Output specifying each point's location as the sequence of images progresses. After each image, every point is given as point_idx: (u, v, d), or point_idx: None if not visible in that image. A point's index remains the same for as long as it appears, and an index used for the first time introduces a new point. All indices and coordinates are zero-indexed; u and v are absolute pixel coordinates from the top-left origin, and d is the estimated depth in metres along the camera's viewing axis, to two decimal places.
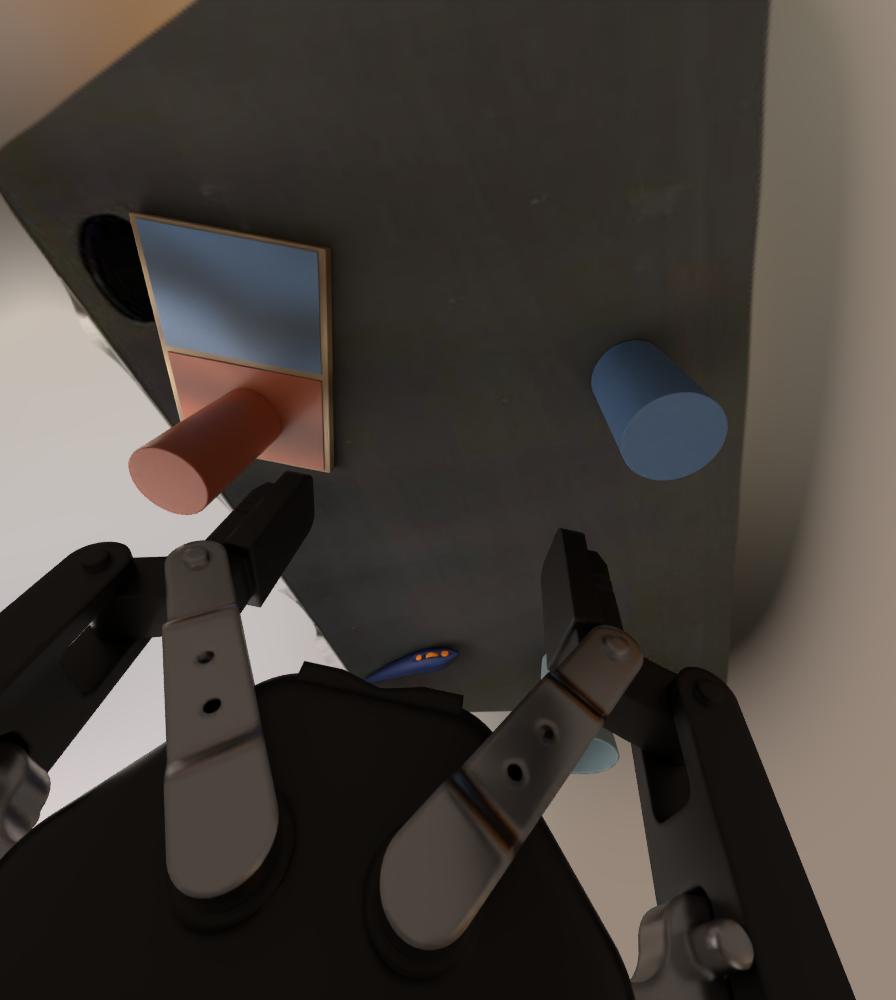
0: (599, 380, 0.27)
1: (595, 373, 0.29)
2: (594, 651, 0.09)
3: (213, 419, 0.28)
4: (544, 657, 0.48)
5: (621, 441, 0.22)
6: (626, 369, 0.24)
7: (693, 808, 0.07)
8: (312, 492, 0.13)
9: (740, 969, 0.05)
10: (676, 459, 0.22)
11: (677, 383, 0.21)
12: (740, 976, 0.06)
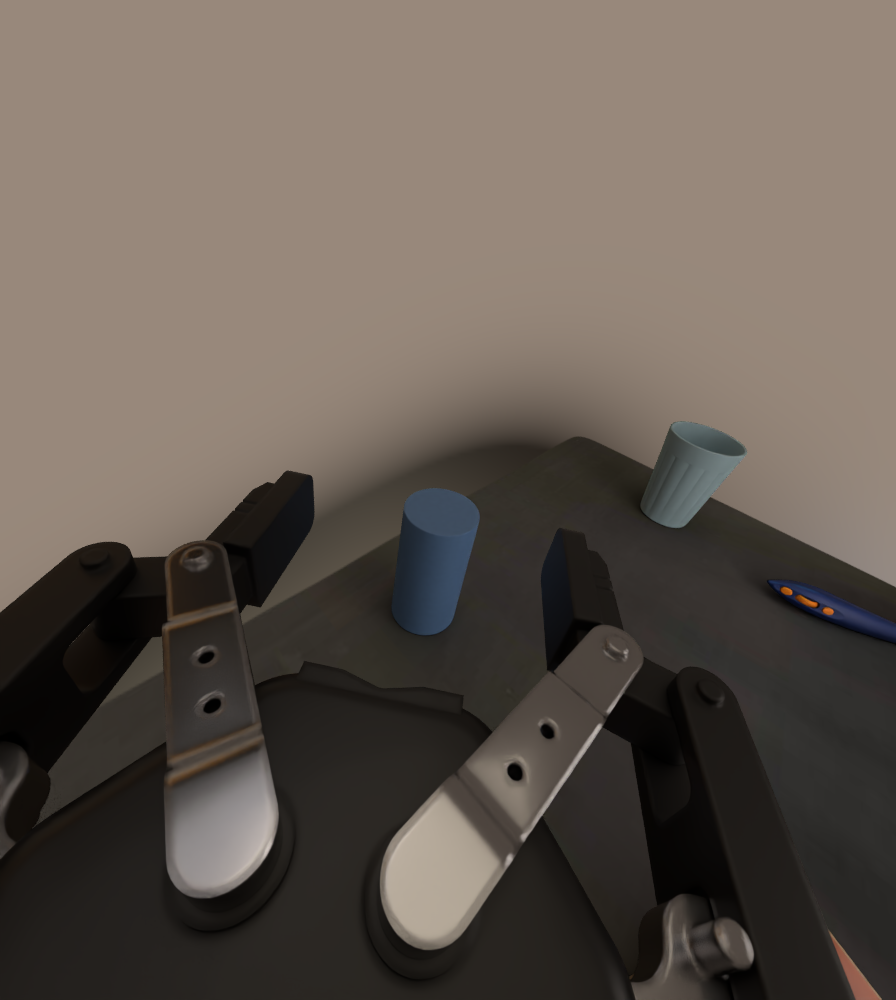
0: (438, 614, 0.30)
1: (435, 627, 0.30)
2: (594, 651, 0.09)
3: None
4: (678, 525, 0.48)
5: (466, 533, 0.26)
6: (418, 589, 0.28)
7: (693, 808, 0.07)
8: (312, 492, 0.13)
9: (740, 969, 0.05)
10: (452, 502, 0.28)
11: (407, 534, 0.26)
12: (740, 977, 0.06)
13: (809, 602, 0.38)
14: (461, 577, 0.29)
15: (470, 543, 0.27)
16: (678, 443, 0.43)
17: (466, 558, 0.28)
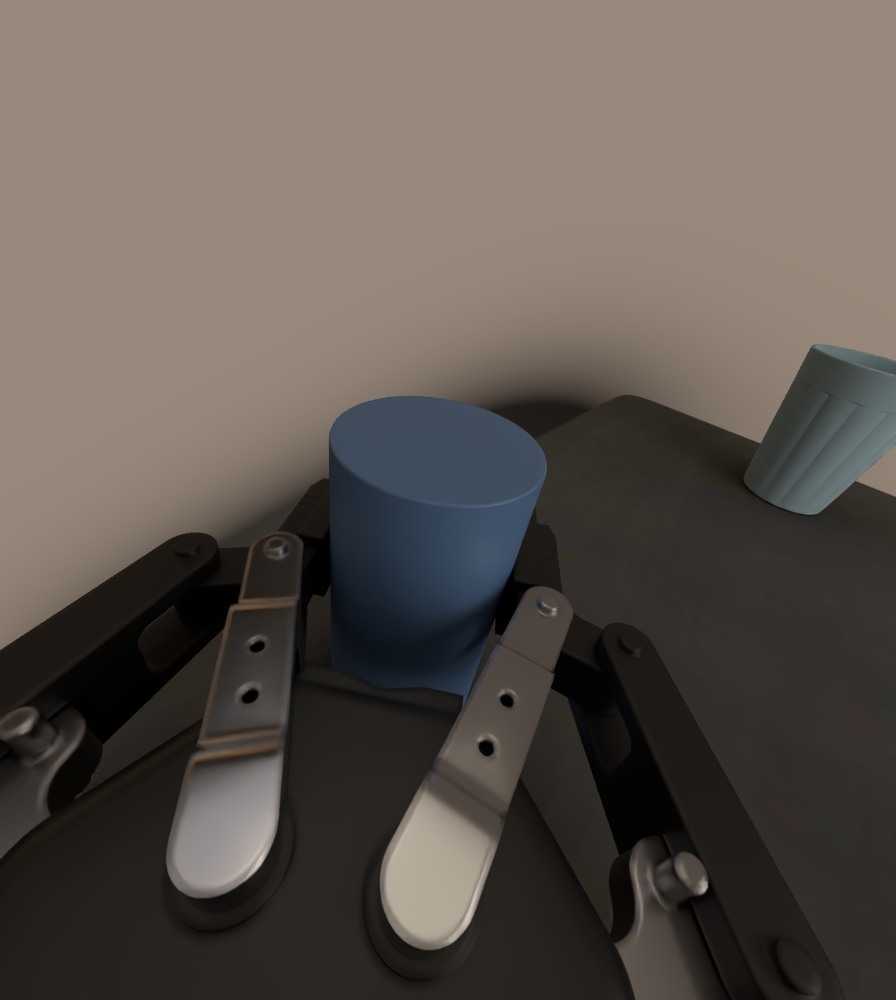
0: None
1: None
2: (530, 613, 0.09)
3: None
4: (815, 510, 0.30)
5: (516, 501, 0.08)
6: (379, 656, 0.11)
7: (635, 756, 0.08)
8: None
9: (699, 894, 0.06)
10: (470, 424, 0.10)
11: (337, 506, 0.09)
12: (700, 898, 0.06)
13: None
14: (490, 621, 0.11)
15: (522, 533, 0.09)
16: (838, 370, 0.26)
17: (507, 574, 0.10)
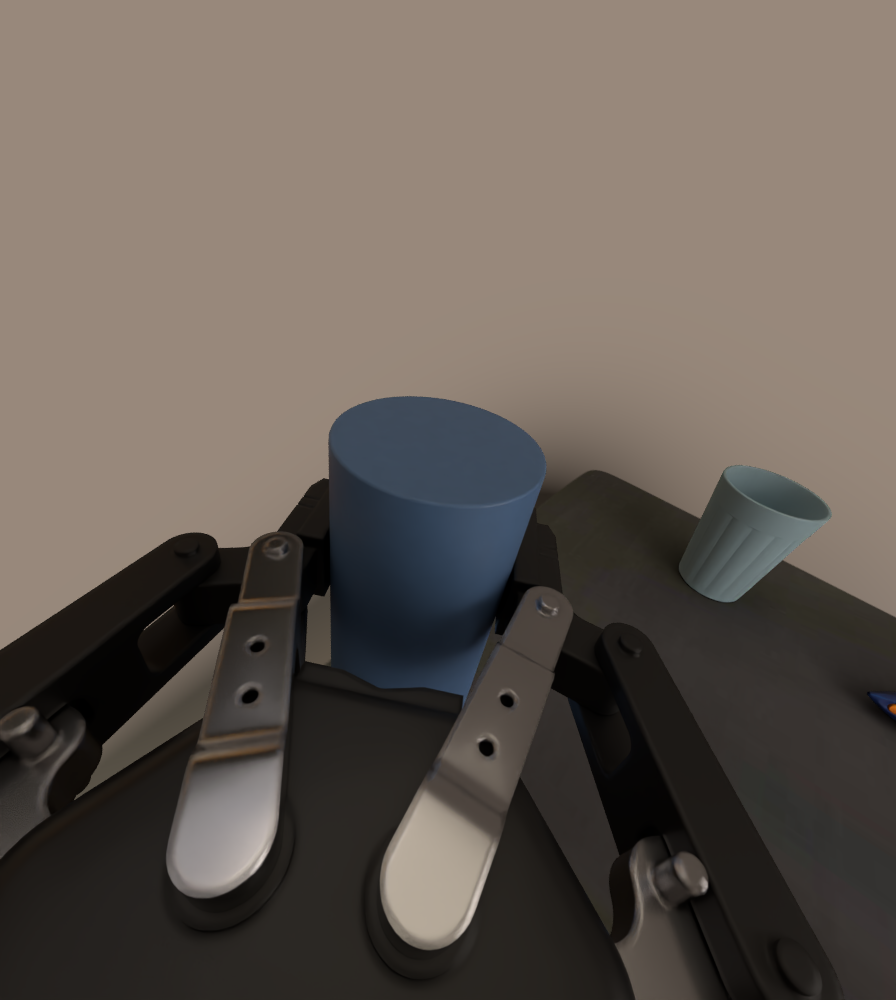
0: None
1: None
2: (531, 613, 0.09)
3: None
4: (732, 599, 0.37)
5: (515, 501, 0.08)
6: (378, 656, 0.11)
7: (635, 756, 0.08)
8: None
9: (699, 894, 0.06)
10: (469, 424, 0.10)
11: (337, 506, 0.09)
12: (700, 899, 0.06)
13: None
14: (490, 621, 0.11)
15: (521, 533, 0.09)
16: (738, 500, 0.32)
17: (507, 574, 0.10)
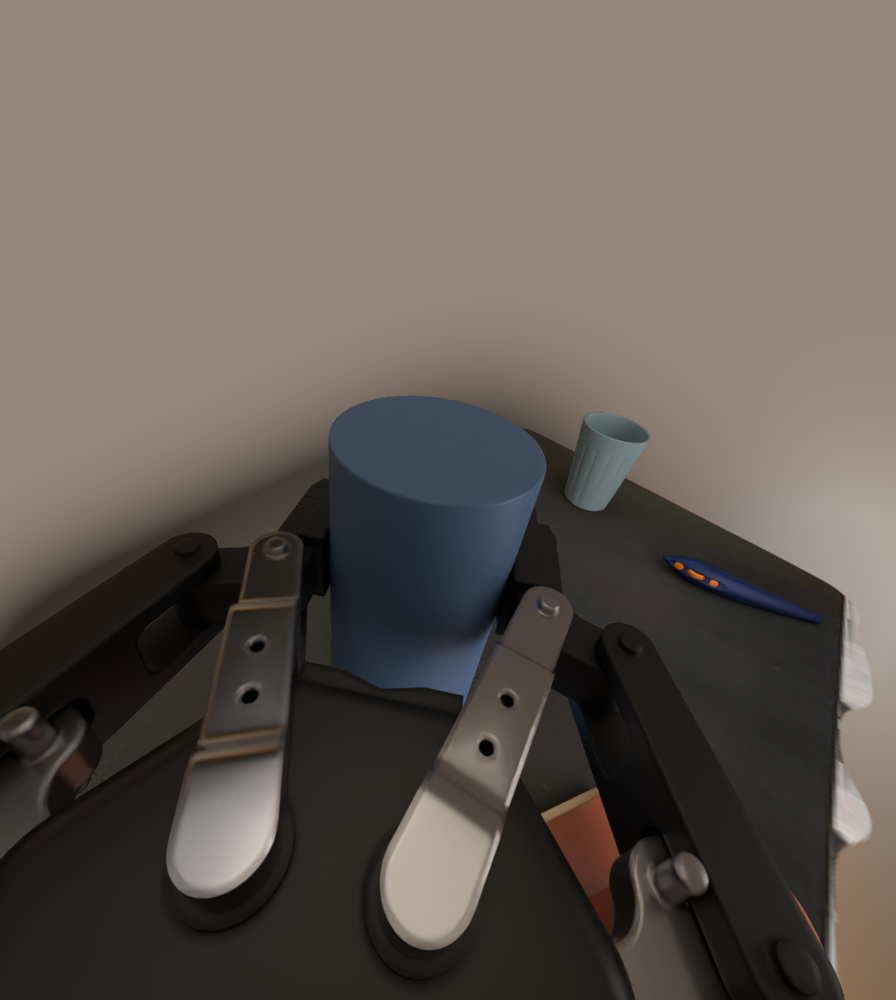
0: None
1: None
2: (531, 613, 0.09)
3: None
4: (596, 508, 0.51)
5: (515, 500, 0.08)
6: (378, 656, 0.11)
7: (635, 756, 0.08)
8: None
9: (699, 894, 0.06)
10: (469, 424, 0.10)
11: (337, 505, 0.09)
12: (699, 898, 0.06)
13: (697, 575, 0.42)
14: (490, 621, 0.11)
15: (521, 532, 0.09)
16: (588, 431, 0.47)
17: (506, 574, 0.10)
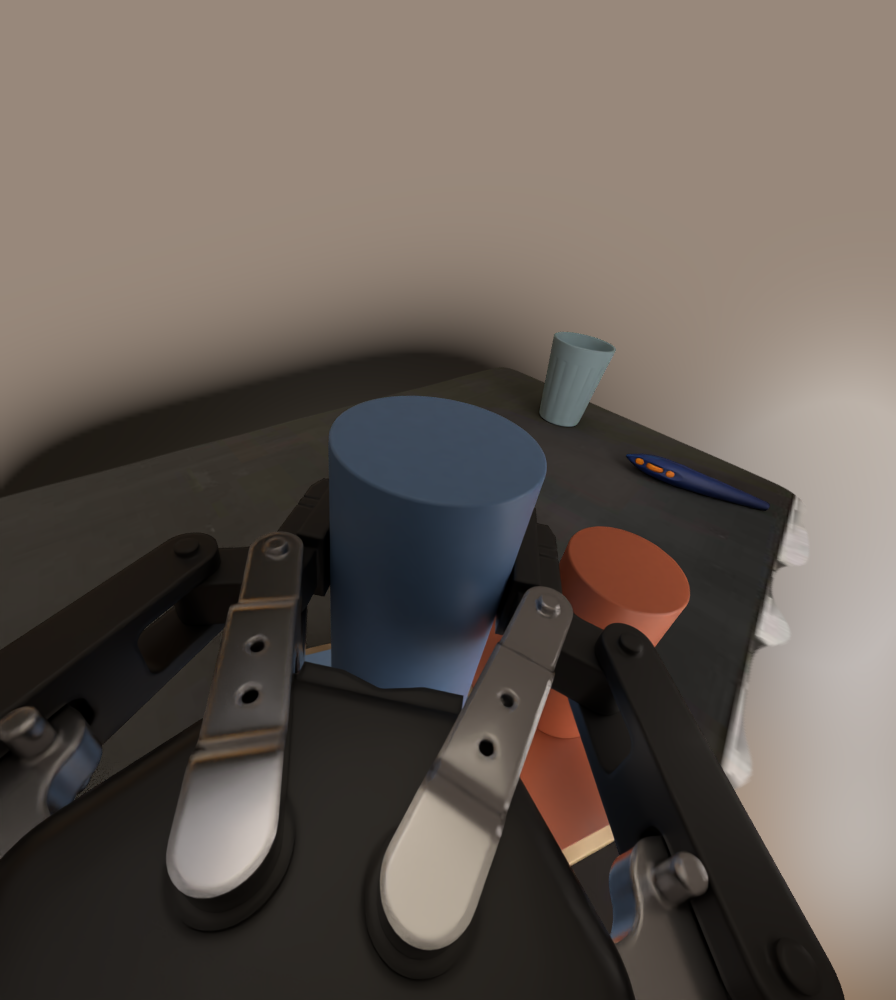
0: None
1: None
2: (531, 613, 0.09)
3: None
4: (568, 423, 0.55)
5: (515, 501, 0.08)
6: (379, 656, 0.11)
7: (635, 756, 0.08)
8: None
9: (699, 894, 0.06)
10: (469, 424, 0.10)
11: (337, 506, 0.09)
12: (700, 898, 0.06)
13: (655, 468, 0.46)
14: (490, 621, 0.11)
15: (521, 532, 0.09)
16: (557, 344, 0.50)
17: (507, 574, 0.10)
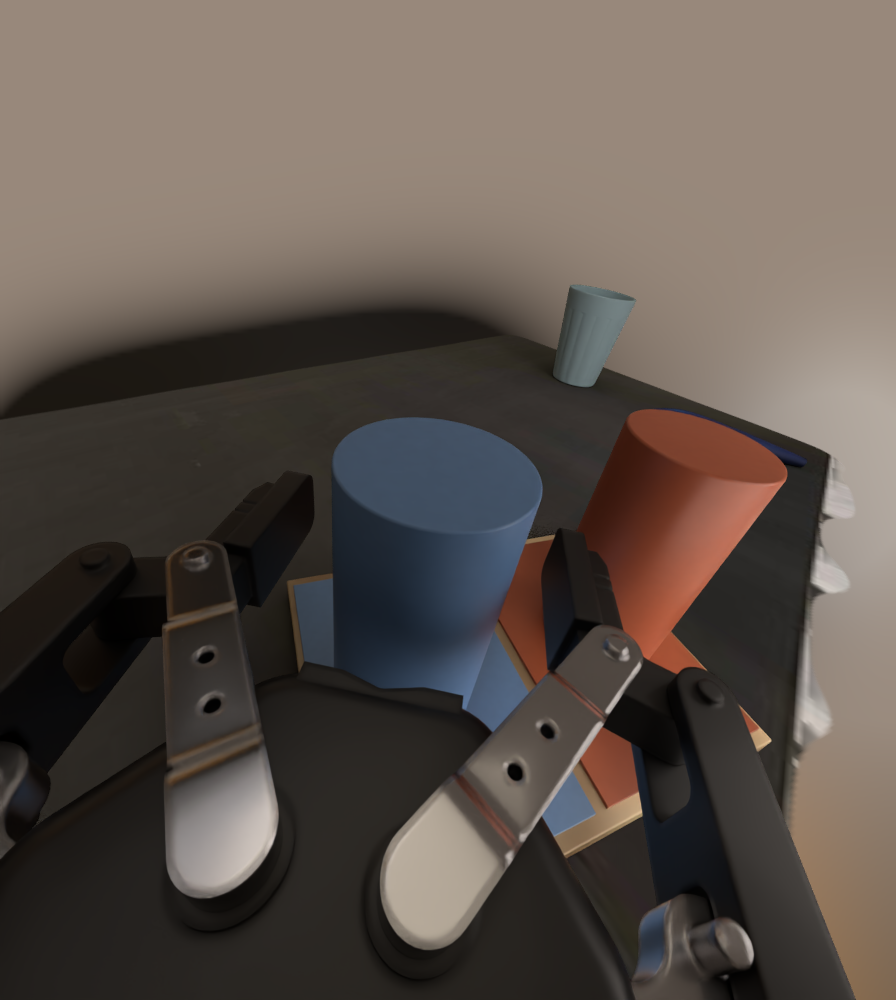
0: None
1: None
2: (594, 651, 0.09)
3: (586, 542, 0.16)
4: (583, 383, 0.52)
5: (511, 526, 0.08)
6: (380, 672, 0.11)
7: (693, 808, 0.07)
8: (312, 492, 0.13)
9: (740, 969, 0.05)
10: (468, 446, 0.11)
11: (340, 529, 0.09)
12: (740, 977, 0.06)
13: None
14: (489, 636, 0.12)
15: (518, 553, 0.10)
16: (573, 295, 0.47)
17: (504, 592, 0.10)
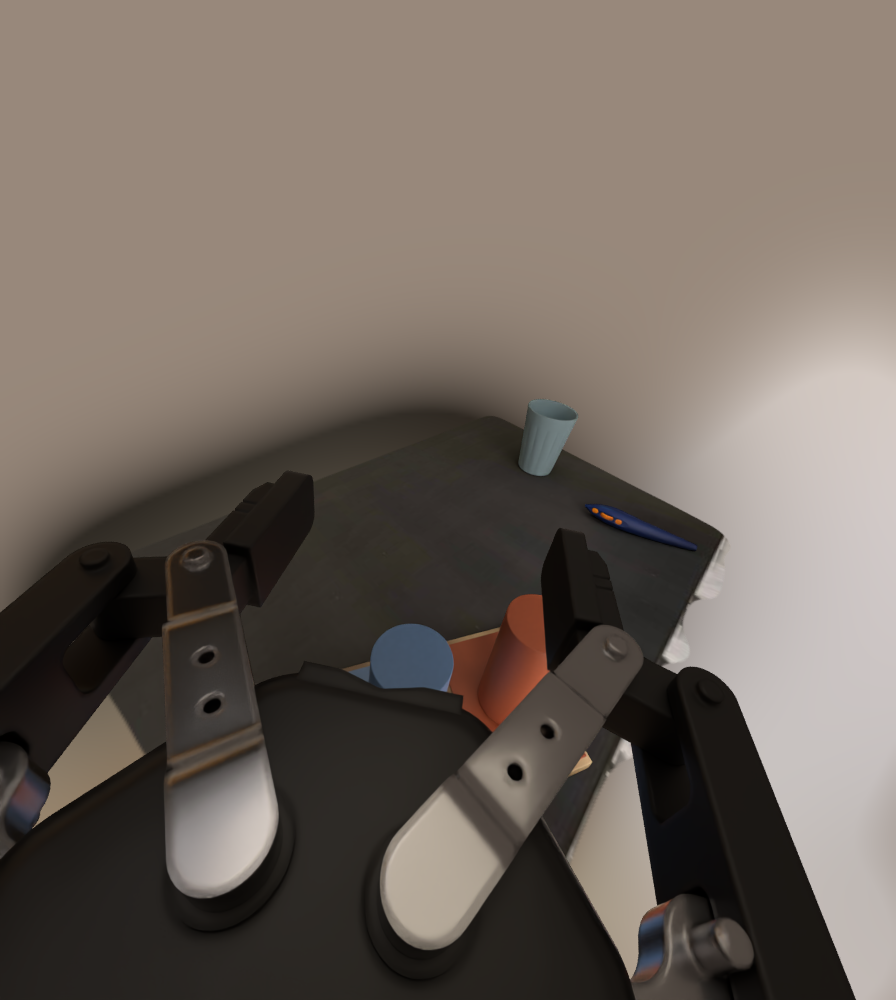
0: None
1: None
2: (594, 651, 0.09)
3: (493, 661, 0.31)
4: (541, 473, 0.66)
5: None
6: None
7: (693, 808, 0.07)
8: (312, 492, 0.13)
9: (740, 969, 0.05)
10: (425, 644, 0.26)
11: None
12: (741, 977, 0.06)
13: (607, 516, 0.57)
14: None
15: None
16: (530, 413, 0.62)
17: None
